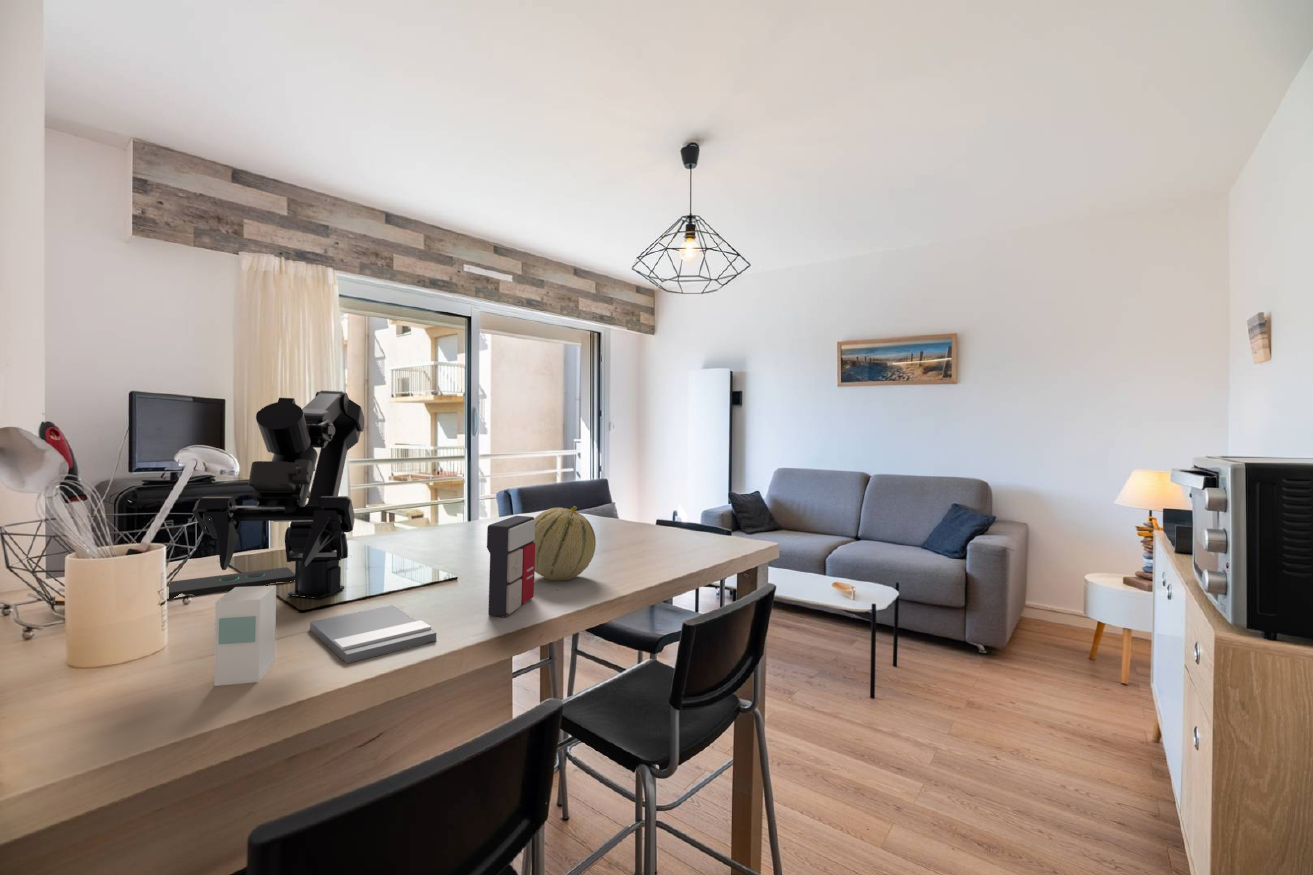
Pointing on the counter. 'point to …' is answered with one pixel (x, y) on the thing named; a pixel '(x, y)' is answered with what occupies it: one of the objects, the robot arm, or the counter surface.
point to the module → (244, 634)
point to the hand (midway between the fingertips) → (263, 566)
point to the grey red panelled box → (511, 564)
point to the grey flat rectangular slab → (371, 633)
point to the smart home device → (229, 582)
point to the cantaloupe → (562, 543)
